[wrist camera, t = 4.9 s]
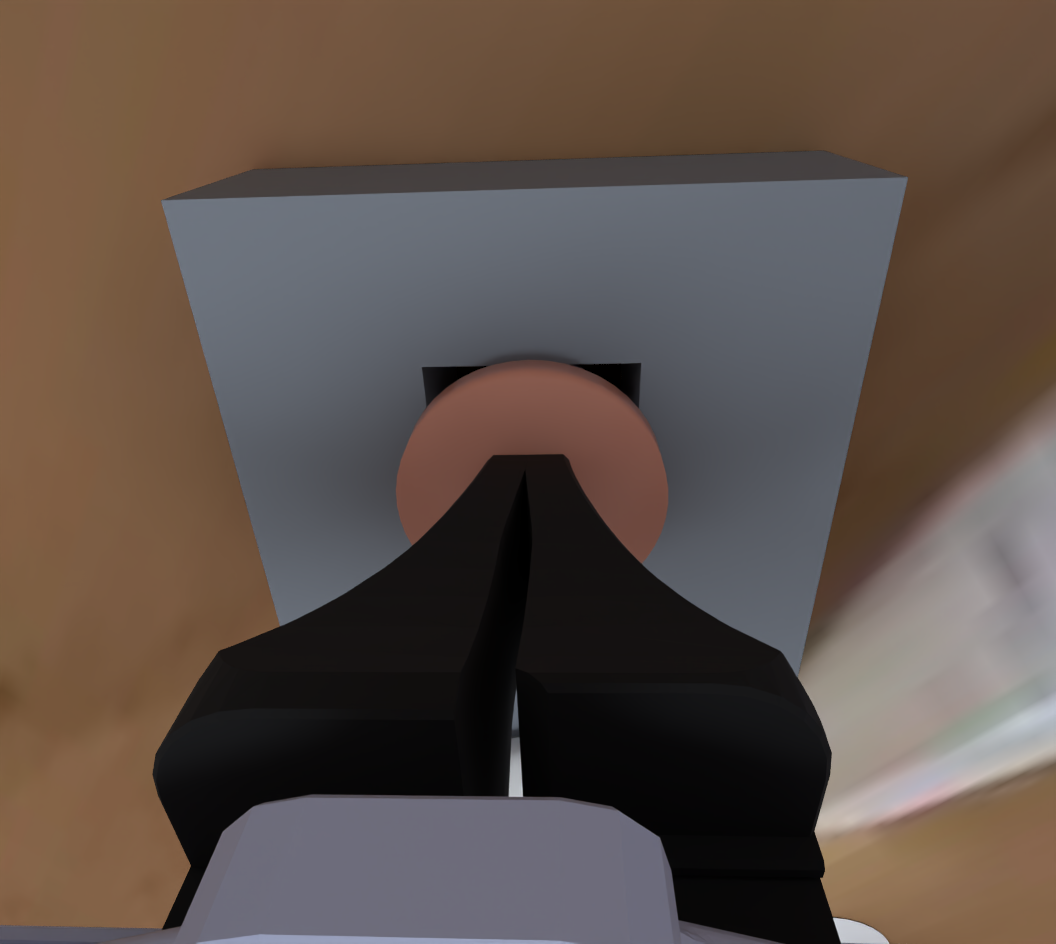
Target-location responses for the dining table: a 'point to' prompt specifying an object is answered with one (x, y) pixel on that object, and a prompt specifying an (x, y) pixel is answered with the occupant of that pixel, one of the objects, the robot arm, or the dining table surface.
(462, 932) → the robot arm
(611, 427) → the red plunger
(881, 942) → the champagne flute
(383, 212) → the panel
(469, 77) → the dining table surface
